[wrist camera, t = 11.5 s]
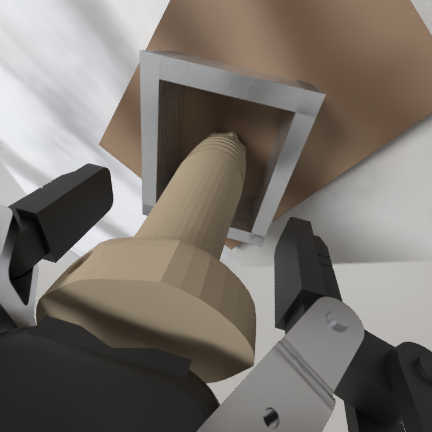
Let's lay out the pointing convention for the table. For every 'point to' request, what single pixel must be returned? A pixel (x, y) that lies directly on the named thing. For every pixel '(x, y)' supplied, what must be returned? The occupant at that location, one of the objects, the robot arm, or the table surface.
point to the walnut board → (299, 70)
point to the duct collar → (231, 86)
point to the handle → (171, 273)
